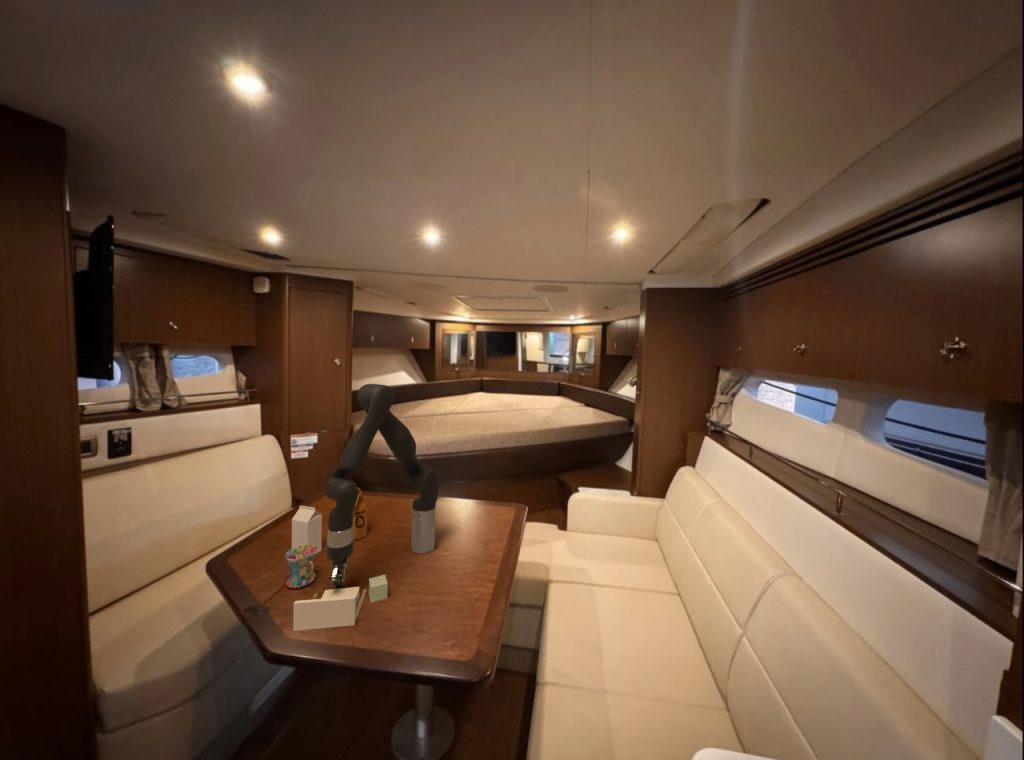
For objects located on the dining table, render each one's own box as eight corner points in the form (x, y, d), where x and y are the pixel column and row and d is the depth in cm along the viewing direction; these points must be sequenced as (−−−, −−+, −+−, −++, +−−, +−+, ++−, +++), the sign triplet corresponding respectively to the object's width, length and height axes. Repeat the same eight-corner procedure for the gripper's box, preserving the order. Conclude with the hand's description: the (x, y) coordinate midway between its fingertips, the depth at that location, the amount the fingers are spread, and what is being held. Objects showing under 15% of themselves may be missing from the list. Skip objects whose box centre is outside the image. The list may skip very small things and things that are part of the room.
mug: (279, 584, 112) (279, 553, 111) (308, 570, 120) (308, 541, 119) (297, 598, 106) (297, 566, 105) (326, 582, 114) (327, 552, 113)
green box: (384, 588, 112) (385, 574, 112) (387, 598, 108) (387, 583, 107) (368, 593, 109) (369, 578, 109) (370, 603, 105) (370, 587, 105)
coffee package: (349, 545, 137) (350, 492, 136) (333, 535, 144) (334, 485, 143) (371, 535, 145) (372, 486, 144) (354, 526, 152) (355, 479, 151)
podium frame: (366, 591, 110) (366, 588, 110) (355, 621, 97) (355, 618, 97) (314, 595, 107) (314, 592, 107) (295, 626, 95) (295, 624, 95)
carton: (359, 600, 106) (359, 586, 106) (353, 619, 99) (353, 604, 98) (324, 603, 104) (325, 590, 104) (315, 623, 96) (316, 608, 96)
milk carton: (307, 561, 125) (307, 511, 124) (291, 558, 127) (291, 509, 126) (321, 550, 132) (322, 504, 131) (306, 548, 133) (306, 501, 133)
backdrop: (355, 622, 97) (355, 596, 97) (354, 625, 96) (354, 598, 96) (295, 628, 94) (295, 600, 94) (293, 630, 93) (293, 603, 93)
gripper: (346, 551, 101) (345, 606, 101) (358, 529, 114) (357, 578, 114) (319, 552, 99) (318, 608, 100) (335, 530, 112) (334, 580, 113)
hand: (339, 592), depth 107 cm, fingers closed
